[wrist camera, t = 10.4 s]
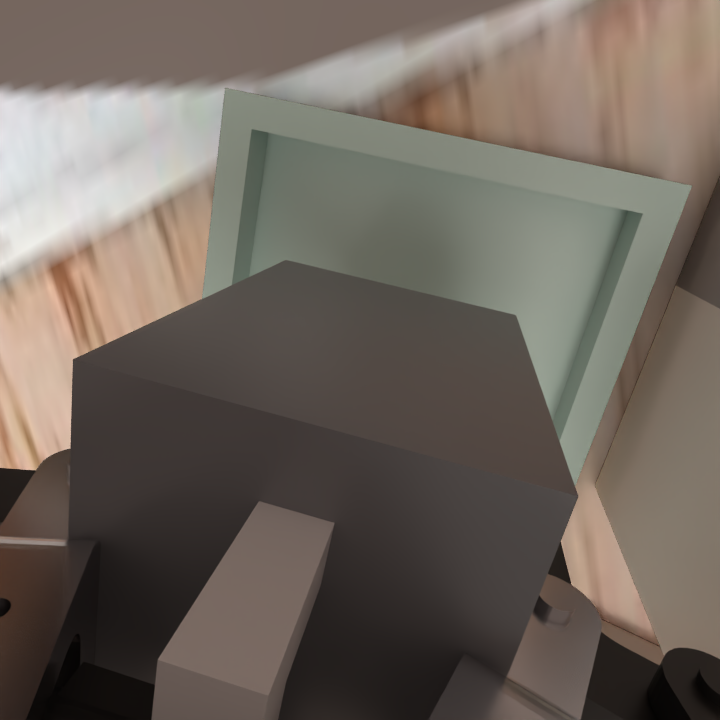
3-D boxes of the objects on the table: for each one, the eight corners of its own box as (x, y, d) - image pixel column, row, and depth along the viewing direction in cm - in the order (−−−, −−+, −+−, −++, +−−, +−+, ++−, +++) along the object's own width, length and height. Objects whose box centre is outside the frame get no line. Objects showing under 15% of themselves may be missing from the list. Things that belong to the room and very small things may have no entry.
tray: (664, 184, 18) (692, 185, 16) (532, 538, 23) (539, 578, 21) (253, 97, 20) (224, 87, 17) (209, 447, 24) (183, 475, 22)
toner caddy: (516, 314, 12) (642, 682, 3) (433, 581, 14) (382, 1194, 6) (285, 259, 12) (-124, 452, 4) (244, 526, 15) (-65, 1009, 6)
